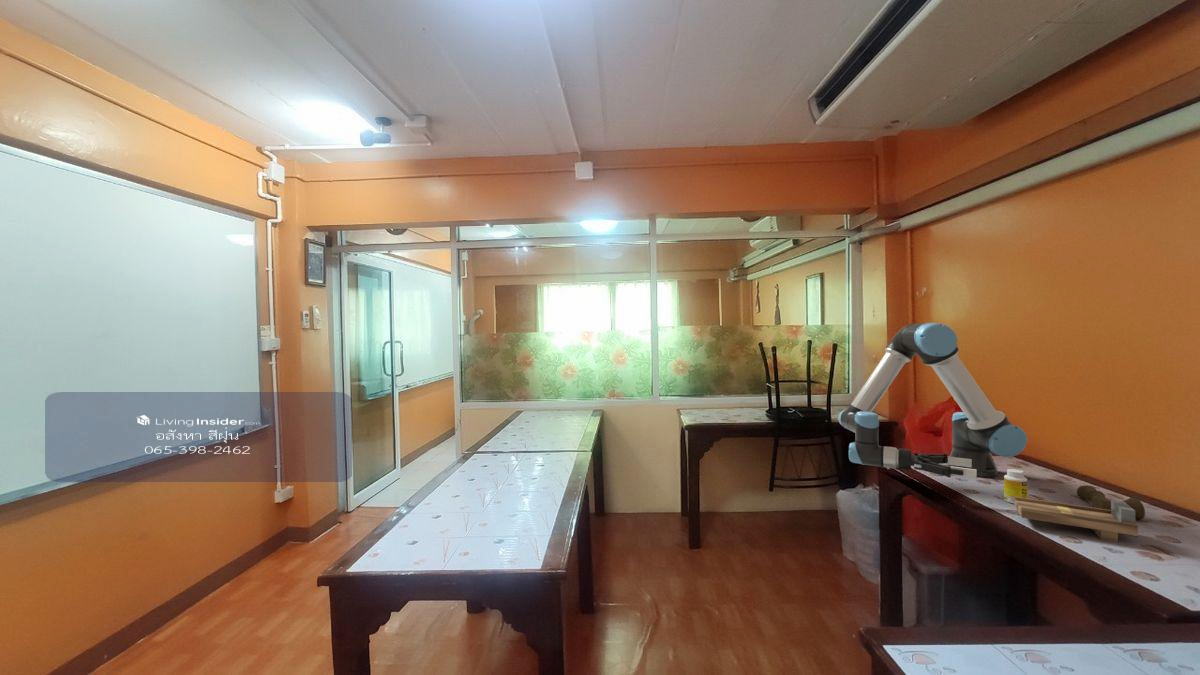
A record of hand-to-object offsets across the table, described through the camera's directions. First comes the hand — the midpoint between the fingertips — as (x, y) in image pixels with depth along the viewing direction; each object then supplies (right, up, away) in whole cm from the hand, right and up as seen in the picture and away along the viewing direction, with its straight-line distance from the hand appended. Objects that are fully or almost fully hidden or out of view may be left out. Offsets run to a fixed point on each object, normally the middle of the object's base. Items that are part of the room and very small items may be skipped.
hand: (974, 468), depth 150 cm
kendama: (+29, -9, -14) cm, 33 cm away
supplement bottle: (+9, -9, -6) cm, 14 cm away
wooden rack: (+7, -9, -25) cm, 27 cm away
